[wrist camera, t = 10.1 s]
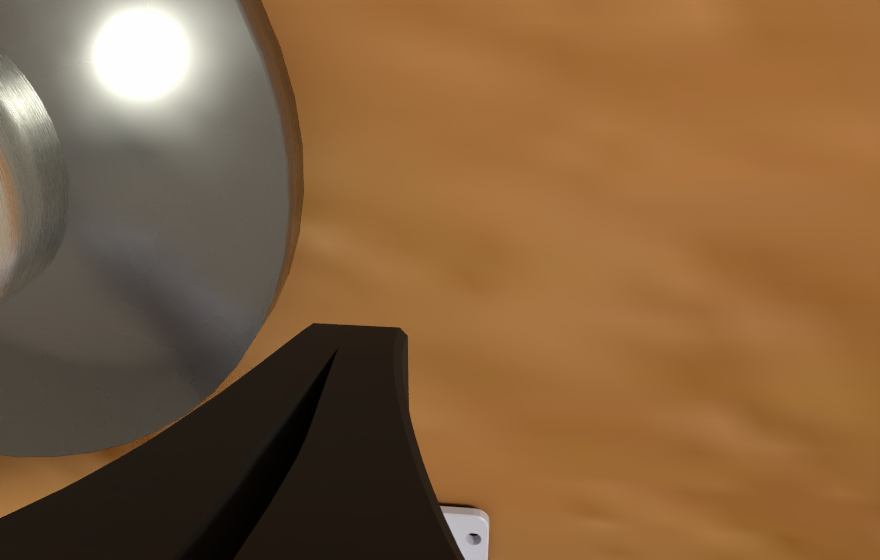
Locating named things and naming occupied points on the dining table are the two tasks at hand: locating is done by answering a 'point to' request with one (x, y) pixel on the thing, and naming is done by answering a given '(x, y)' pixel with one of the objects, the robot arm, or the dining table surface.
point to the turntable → (149, 214)
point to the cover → (28, 184)
